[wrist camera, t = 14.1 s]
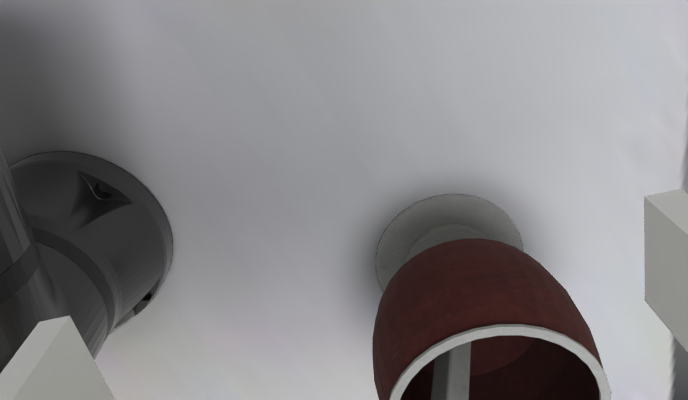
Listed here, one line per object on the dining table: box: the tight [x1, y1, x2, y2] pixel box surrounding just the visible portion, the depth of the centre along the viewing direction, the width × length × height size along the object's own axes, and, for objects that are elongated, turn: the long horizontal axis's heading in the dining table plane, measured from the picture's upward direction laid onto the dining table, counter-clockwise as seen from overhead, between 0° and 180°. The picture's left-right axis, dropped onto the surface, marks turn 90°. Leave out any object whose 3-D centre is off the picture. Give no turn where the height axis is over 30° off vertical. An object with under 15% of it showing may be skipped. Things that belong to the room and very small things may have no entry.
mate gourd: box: [373, 194, 611, 400], centre depth 40 cm, size 16×14×20 cm
